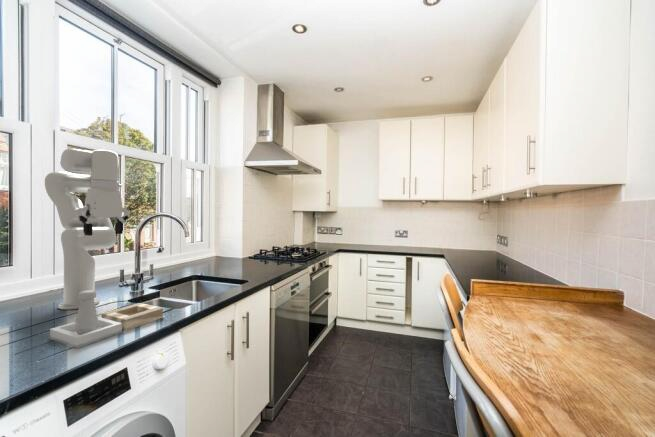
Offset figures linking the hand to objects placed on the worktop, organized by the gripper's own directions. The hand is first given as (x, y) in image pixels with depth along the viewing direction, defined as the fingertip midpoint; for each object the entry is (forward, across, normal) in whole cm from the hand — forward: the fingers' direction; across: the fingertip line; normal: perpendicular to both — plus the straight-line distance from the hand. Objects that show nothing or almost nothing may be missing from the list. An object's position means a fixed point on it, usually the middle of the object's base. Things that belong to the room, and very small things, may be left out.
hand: (104, 234), depth 101 cm
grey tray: (+30, +10, +10) cm, 33 cm away
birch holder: (+30, -4, +10) cm, 32 cm away
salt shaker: (+30, +10, +10) cm, 33 cm away
